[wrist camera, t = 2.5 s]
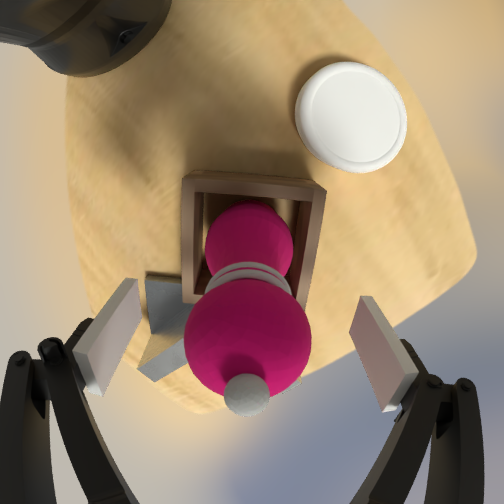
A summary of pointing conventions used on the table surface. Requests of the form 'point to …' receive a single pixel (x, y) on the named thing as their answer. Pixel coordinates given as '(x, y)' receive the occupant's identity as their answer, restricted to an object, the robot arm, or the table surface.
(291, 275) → the wooden square frame
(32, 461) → the robot arm
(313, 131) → the coaster
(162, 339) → the v block
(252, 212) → the pepper mill
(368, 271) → the table surface
